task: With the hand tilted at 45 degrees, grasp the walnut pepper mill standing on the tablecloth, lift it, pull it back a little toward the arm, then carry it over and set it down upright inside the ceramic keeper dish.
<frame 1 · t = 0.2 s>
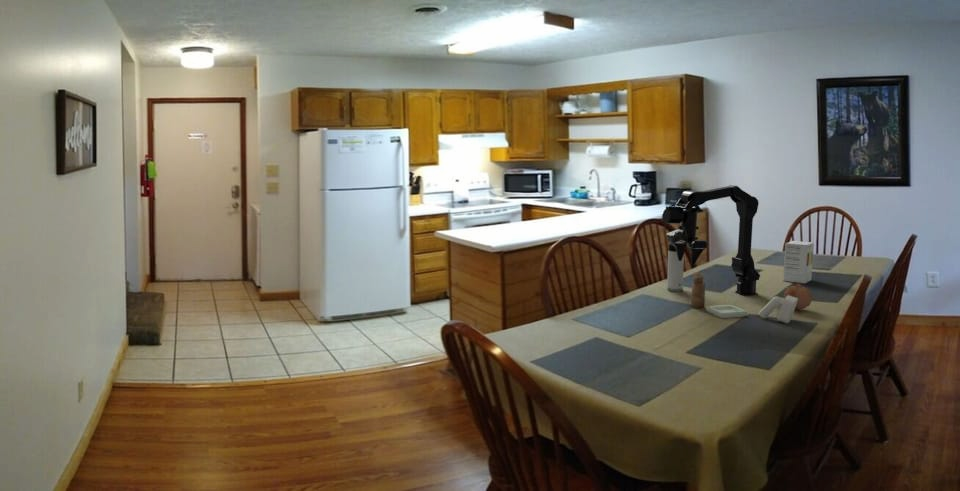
hand: (686, 263, 269), 14 cm above the table, tool pointing down, fingers open, 9 cm apart
pepper mill: (697, 307, 258), on the table
onion: (796, 310, 252), on the table
supplement box: (797, 281, 300), on the table
wall hook: (776, 320, 240), on the table
keeper dish: (726, 313, 249), on the table
travel mug: (675, 290, 286), on the table
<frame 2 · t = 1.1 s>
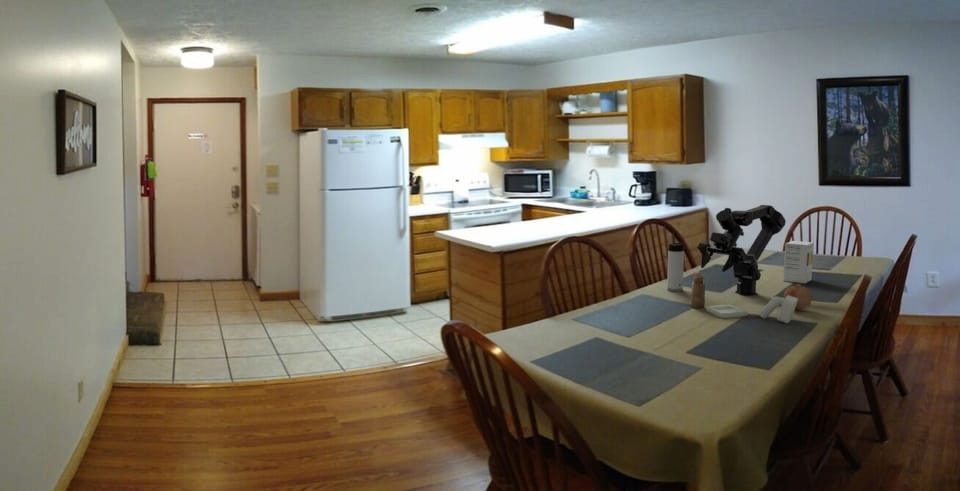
hand: (712, 269, 261), 13 cm above the table, tool tilted 45°, fingers open, 9 cm apart
nothing on the table moved.
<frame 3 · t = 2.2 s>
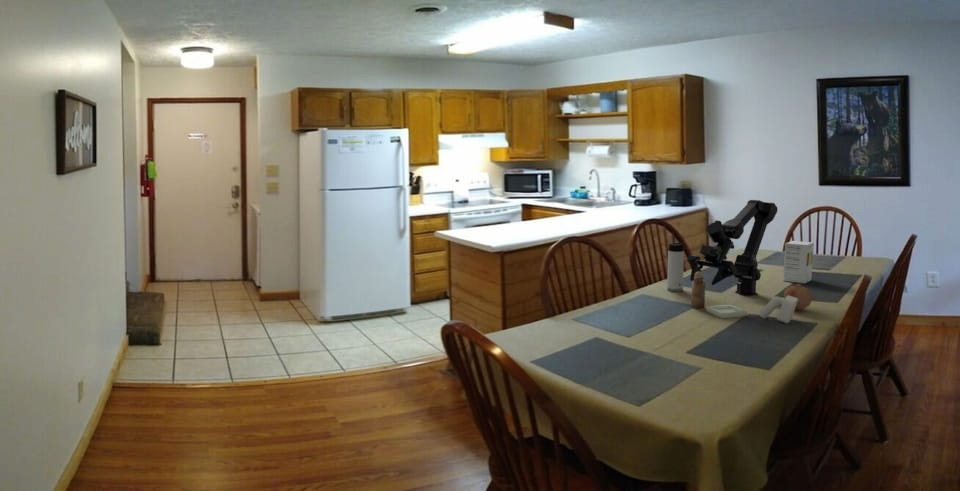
hand: (701, 282, 258), 9 cm above the table, tool tilted 45°, fingers open, 9 cm apart
nothing on the table moved.
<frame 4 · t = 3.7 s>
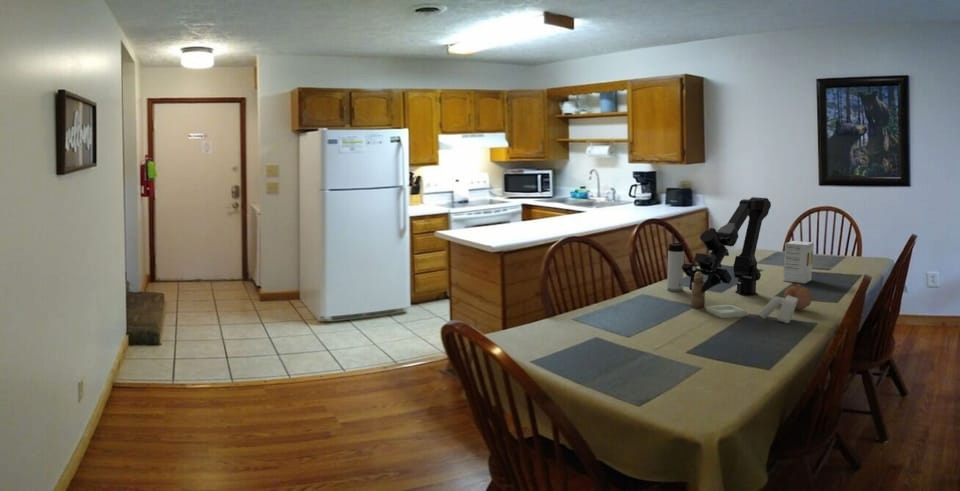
hand: (696, 290, 256), 7 cm above the table, tool tilted 45°, fingers closed on pepper mill, 5 cm apart
pepper mill: (697, 307, 258), on the table, touching gripper
everything else where it was.
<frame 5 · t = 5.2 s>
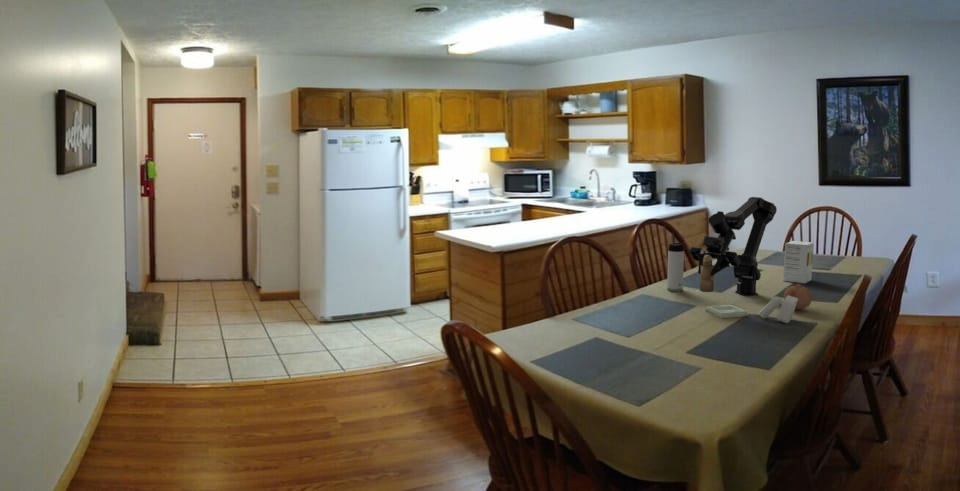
hand: (705, 274, 256), 13 cm above the table, tool tilted 45°, fingers closed on pepper mill, 5 cm apart
pepper mill: (706, 290, 258), point 6 cm above the table, touching gripper
everything else where it was.
when the fingers open (8 cm above the table, at t = 6.9 s): pepper mill drops 1 cm, resting on keeper dish.
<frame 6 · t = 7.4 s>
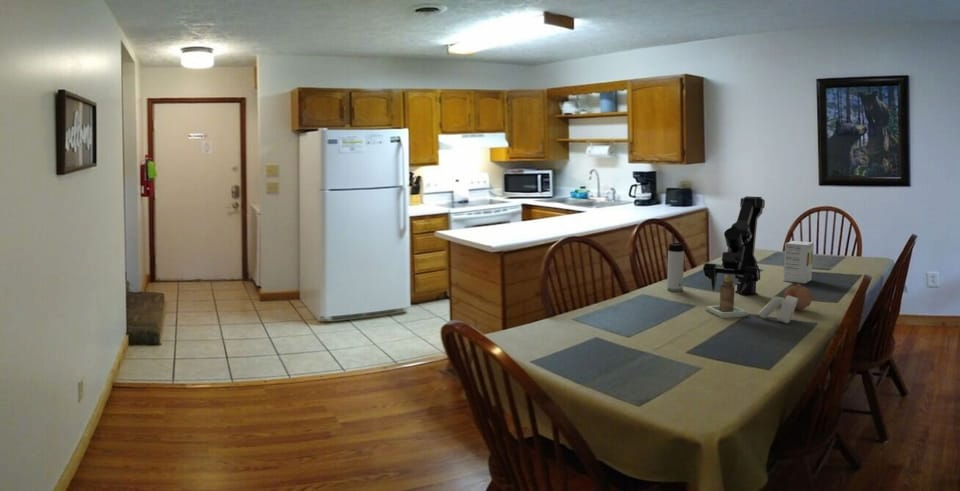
hand: (726, 291, 246), 9 cm above the table, tool tilted 45°, fingers open, 9 cm apart
pepper mill: (726, 311, 249), point 1 cm above the table, touching keeper dish
everything else where it was.
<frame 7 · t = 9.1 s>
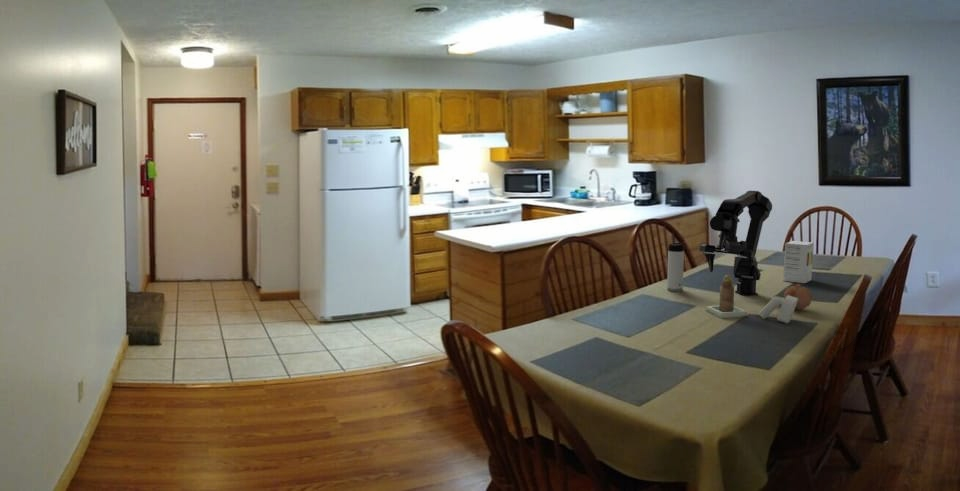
hand: (722, 273, 262), 12 cm above the table, tool pointing down, fingers open, 9 cm apart
nothing on the table moved.
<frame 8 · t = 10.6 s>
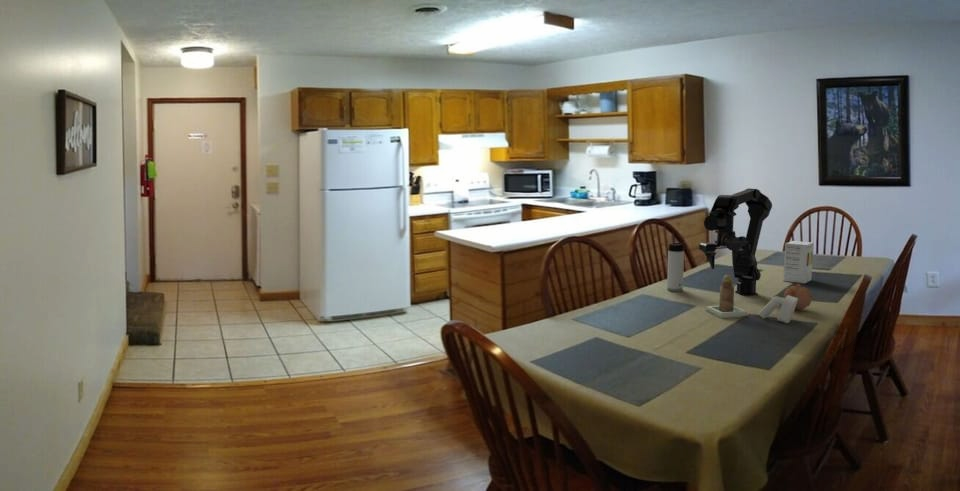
hand: (723, 268, 265), 13 cm above the table, tool pointing down, fingers open, 9 cm apart
nothing on the table moved.
at the end: pepper mill inside the target area on the keeper dish (0.0 cm from its centre), point 0.6 cm above the keeper dish's base; pepper mill tilted 1°; the gripper is holding nothing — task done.
